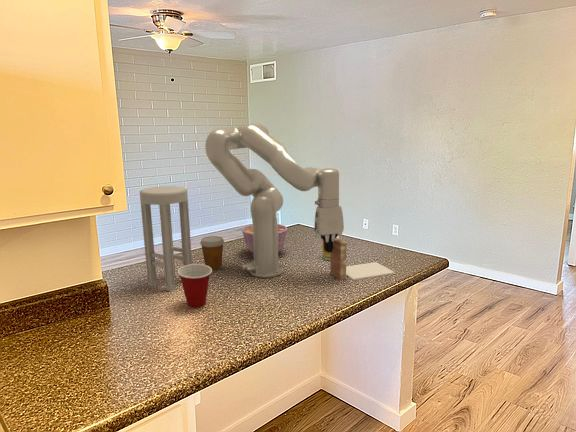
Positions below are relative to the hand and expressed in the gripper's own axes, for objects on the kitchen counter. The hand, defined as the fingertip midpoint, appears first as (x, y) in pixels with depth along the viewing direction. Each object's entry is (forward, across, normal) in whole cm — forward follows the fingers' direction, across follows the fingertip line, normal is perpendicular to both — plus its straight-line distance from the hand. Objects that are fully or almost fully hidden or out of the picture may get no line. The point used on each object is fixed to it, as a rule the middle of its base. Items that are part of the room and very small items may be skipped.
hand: (328, 251), depth 157 cm
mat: (+10, +16, 0) cm, 19 cm away
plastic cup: (+10, -50, -5) cm, 51 cm away
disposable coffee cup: (+10, -38, +28) cm, 48 cm away
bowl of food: (+10, -13, +37) cm, 41 cm away
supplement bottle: (+10, +11, +20) cm, 25 cm away
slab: (+10, +4, 0) cm, 11 cm away
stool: (+10, -56, +17) cm, 59 cm away
